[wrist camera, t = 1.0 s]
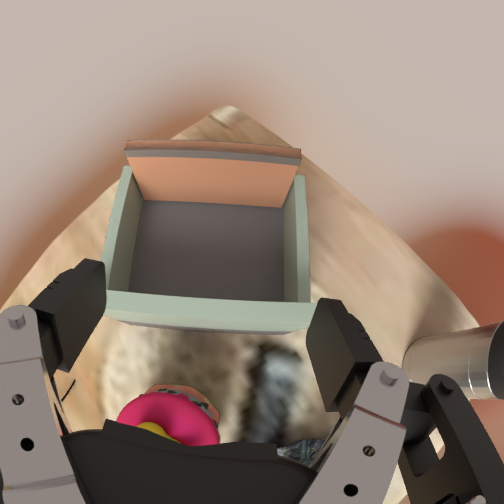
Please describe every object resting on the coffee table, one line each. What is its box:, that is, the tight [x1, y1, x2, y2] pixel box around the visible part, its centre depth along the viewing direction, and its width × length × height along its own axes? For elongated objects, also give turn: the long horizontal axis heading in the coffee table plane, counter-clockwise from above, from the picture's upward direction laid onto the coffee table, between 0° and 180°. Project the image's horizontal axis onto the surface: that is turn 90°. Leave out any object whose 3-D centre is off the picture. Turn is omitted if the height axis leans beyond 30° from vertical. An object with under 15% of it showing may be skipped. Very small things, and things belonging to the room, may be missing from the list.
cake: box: [116, 384, 220, 446], centre depth 24 cm, size 10×11×15 cm
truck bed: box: [101, 166, 317, 335], centre depth 31 cm, size 16×20×16 cm
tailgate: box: [124, 140, 302, 208], centre depth 30 cm, size 1×17×10 cm, turn 88°
